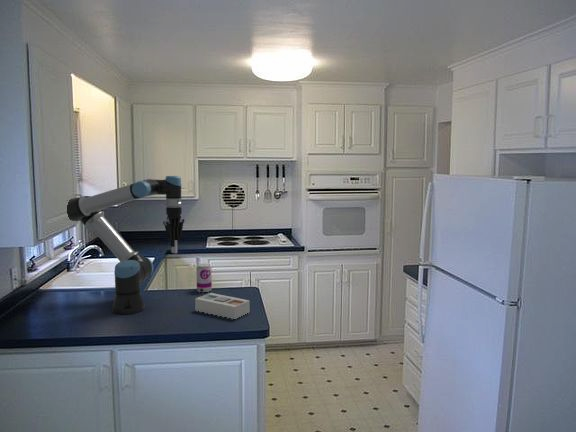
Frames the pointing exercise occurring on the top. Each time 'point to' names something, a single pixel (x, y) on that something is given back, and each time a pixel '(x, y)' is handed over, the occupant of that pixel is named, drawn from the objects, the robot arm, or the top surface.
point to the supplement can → (204, 278)
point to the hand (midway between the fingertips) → (174, 252)
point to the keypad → (222, 306)
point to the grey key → (222, 299)
